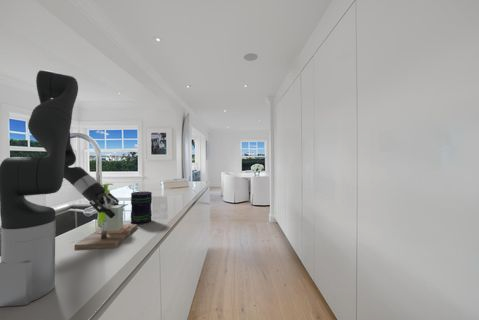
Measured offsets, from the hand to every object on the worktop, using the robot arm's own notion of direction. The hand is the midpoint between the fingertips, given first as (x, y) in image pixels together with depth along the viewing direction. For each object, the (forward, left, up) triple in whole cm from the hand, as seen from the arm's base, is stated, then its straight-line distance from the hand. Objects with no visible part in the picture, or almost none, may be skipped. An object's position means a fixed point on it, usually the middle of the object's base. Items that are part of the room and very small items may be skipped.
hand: (118, 213), depth 90 cm
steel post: (-9, +1, -7) cm, 11 cm away
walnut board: (-4, +1, -8) cm, 9 cm away
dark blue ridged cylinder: (+16, -5, -9) cm, 19 cm away
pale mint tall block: (0, +1, -7) cm, 7 cm away
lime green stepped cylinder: (+14, +11, -9) cm, 20 cm away
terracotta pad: (0, +1, -7) cm, 7 cm away
